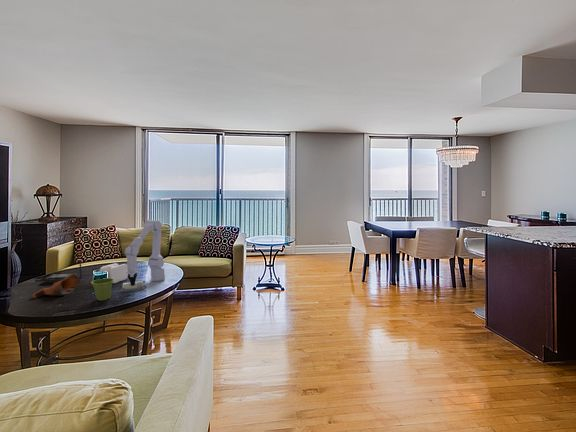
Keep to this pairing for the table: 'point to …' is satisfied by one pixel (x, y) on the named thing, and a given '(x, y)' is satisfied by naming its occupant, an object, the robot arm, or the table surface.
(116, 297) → the table surface
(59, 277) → the black wireless router
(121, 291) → the board
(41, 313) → the table surface
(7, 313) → the table surface
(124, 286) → the tall beige pillar
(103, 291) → the plant pot
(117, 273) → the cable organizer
